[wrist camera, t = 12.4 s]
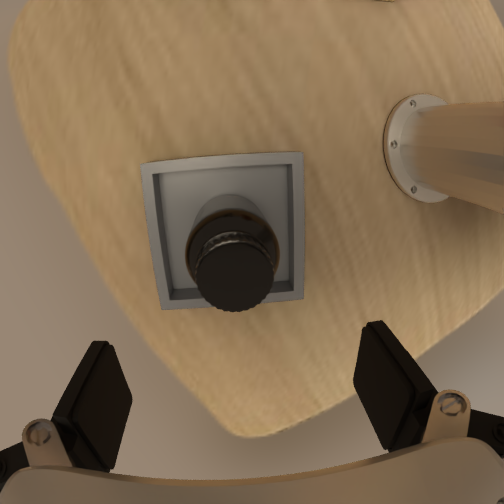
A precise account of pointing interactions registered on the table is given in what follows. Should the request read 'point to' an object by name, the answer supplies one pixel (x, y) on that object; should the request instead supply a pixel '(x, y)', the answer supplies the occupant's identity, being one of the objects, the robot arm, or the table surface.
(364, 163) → the table surface
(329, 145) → the table surface
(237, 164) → the box
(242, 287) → the supplement bottle
